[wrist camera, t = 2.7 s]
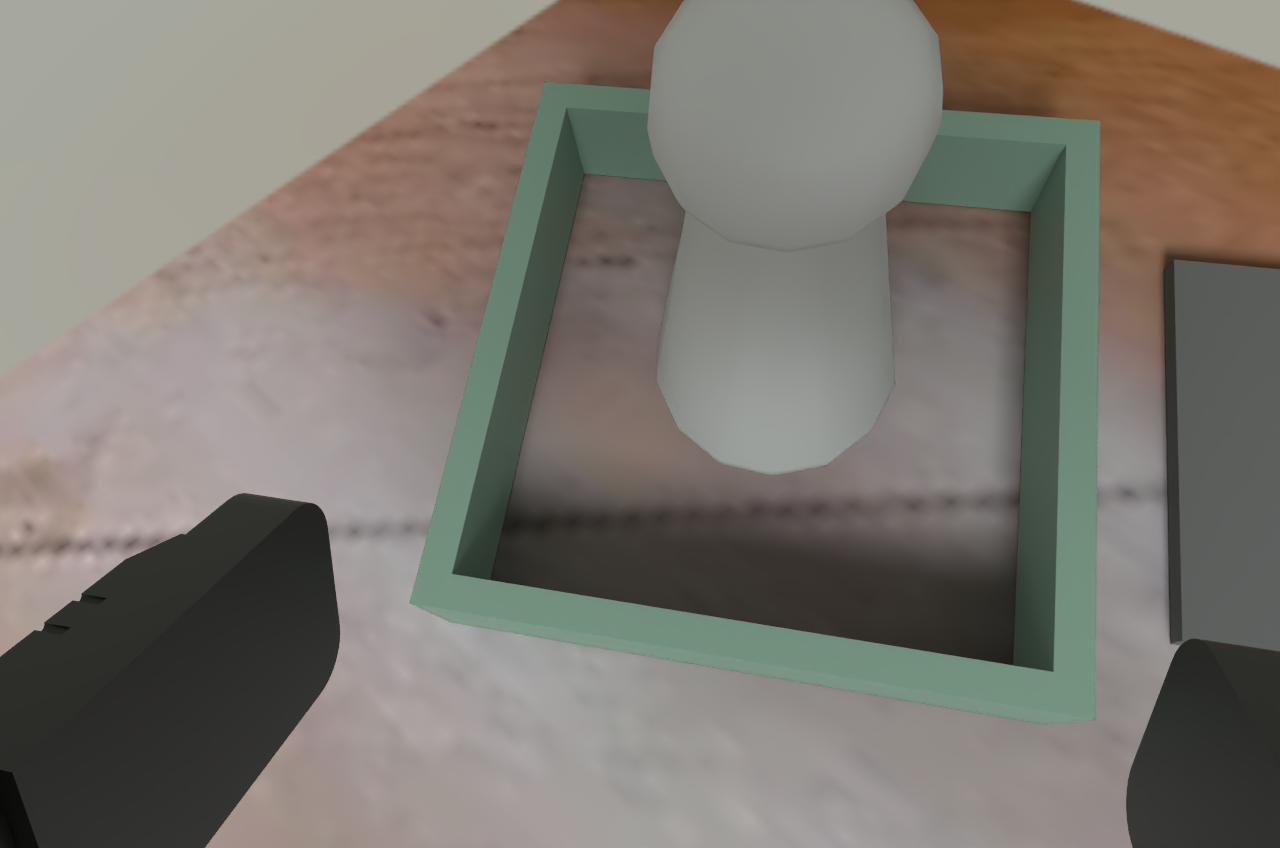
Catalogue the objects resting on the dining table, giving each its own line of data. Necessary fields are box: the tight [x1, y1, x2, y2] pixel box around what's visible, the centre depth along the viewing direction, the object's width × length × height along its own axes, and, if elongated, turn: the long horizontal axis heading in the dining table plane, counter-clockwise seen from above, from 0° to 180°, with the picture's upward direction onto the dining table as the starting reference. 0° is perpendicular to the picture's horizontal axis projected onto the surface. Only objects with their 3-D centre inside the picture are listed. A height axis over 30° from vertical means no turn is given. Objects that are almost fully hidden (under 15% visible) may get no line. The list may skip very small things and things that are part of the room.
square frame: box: [410, 82, 1100, 725], centre depth 23 cm, size 15×15×3 cm
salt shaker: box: [647, 0, 943, 476], centre depth 18 cm, size 6×6×13 cm
